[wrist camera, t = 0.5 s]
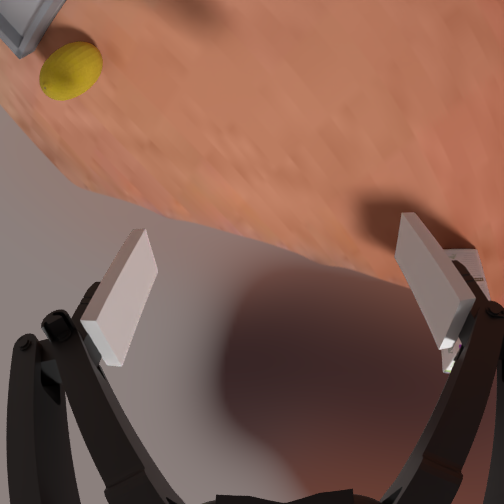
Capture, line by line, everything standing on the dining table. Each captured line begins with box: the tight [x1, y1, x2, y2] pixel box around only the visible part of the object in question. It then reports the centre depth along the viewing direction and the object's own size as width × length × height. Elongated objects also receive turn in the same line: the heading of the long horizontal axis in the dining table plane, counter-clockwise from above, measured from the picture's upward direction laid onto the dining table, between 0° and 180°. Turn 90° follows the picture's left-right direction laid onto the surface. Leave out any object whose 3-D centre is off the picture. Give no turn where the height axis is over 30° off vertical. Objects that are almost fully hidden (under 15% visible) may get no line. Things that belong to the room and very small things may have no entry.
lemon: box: [40, 41, 103, 101], centre depth 23 cm, size 6×6×8 cm
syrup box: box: [441, 249, 491, 373], centre depth 32 cm, size 6×6×14 cm
